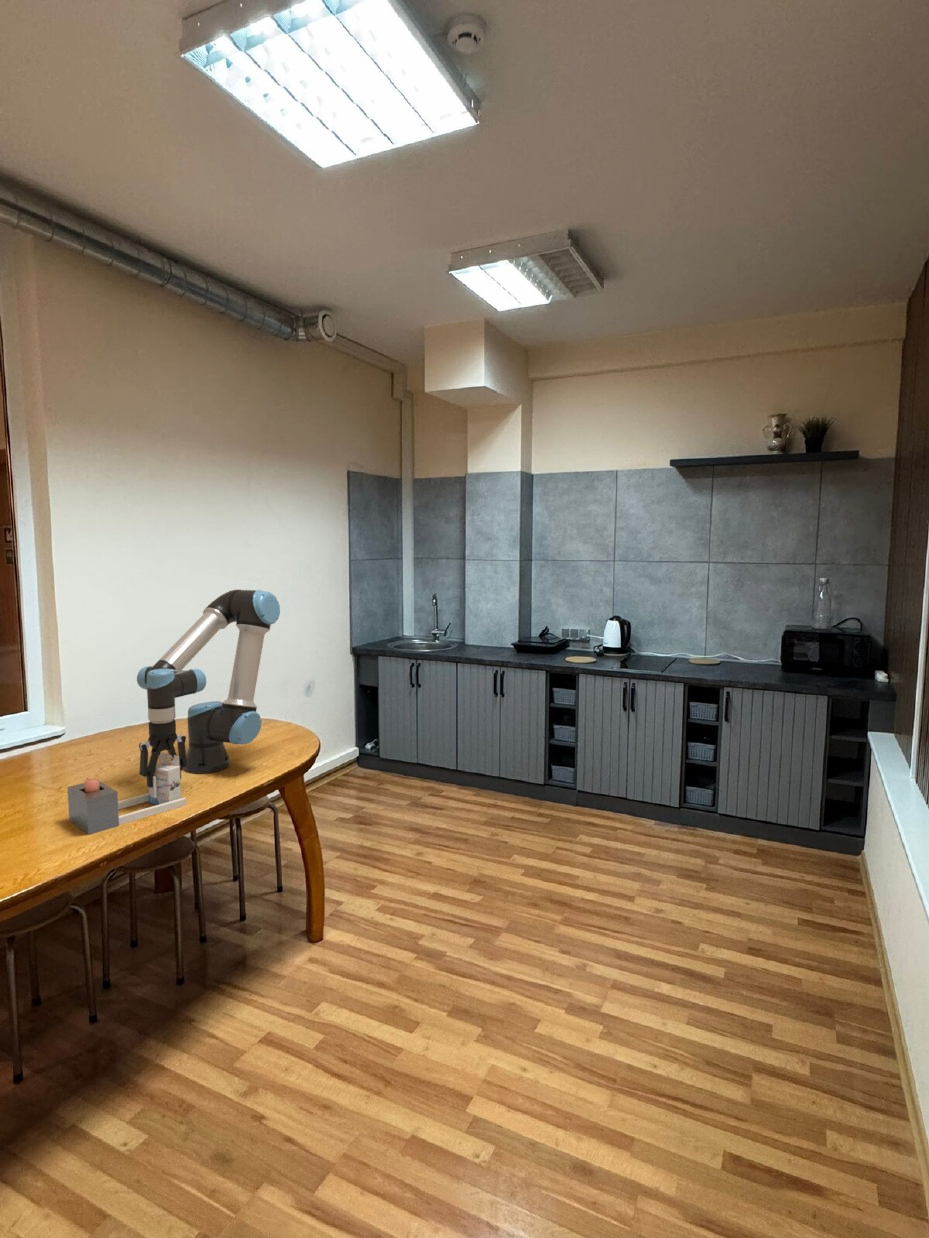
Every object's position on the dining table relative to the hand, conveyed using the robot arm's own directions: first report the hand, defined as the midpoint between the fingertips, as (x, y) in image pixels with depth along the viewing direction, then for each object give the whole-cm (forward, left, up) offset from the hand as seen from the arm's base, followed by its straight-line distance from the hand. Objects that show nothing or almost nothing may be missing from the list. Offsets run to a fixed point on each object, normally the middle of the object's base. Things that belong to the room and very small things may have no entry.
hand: (164, 793), depth 205 cm
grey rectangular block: (+20, 0, -3) cm, 21 cm away
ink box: (0, 0, -3) cm, 3 cm away
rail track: (+6, 0, -3) cm, 7 cm away
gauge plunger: (+21, 0, +5) cm, 21 cm away
